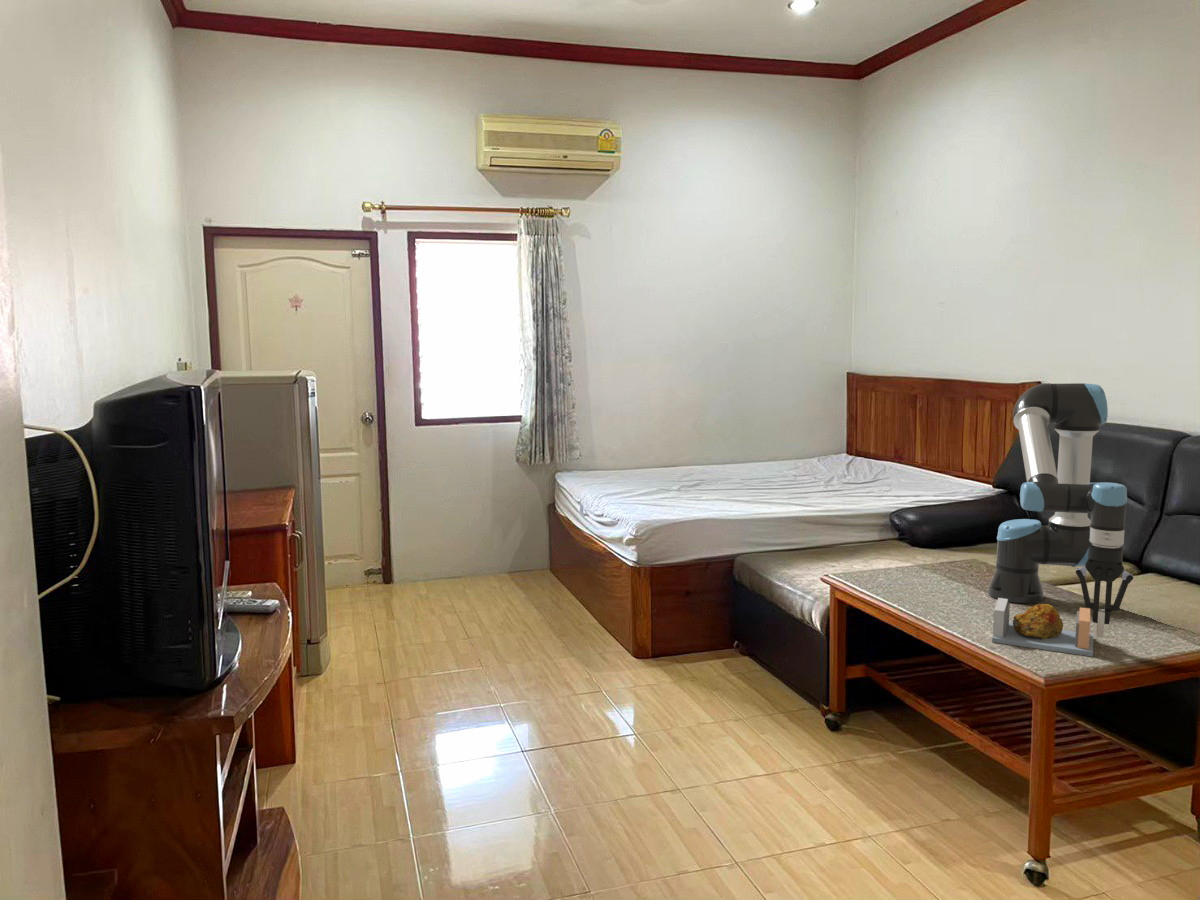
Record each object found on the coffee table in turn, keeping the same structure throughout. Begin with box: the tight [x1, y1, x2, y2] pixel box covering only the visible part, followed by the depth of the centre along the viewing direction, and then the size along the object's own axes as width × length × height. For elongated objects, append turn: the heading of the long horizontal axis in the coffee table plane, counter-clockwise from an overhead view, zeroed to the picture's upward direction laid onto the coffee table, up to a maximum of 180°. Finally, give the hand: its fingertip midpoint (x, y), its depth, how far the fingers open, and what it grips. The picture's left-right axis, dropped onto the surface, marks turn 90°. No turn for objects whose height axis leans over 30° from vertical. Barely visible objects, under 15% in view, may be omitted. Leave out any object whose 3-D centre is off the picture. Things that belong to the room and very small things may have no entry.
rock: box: [1012, 603, 1064, 639], centre depth 235 cm, size 11×8×10 cm
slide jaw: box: [1075, 607, 1091, 649], centre depth 229 cm, size 12×3×7 cm, turn 152°
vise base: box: [991, 598, 1094, 657], centre depth 233 cm, size 15×23×8 cm, turn 62°
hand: (1099, 635), depth 227 cm, fingers closed
